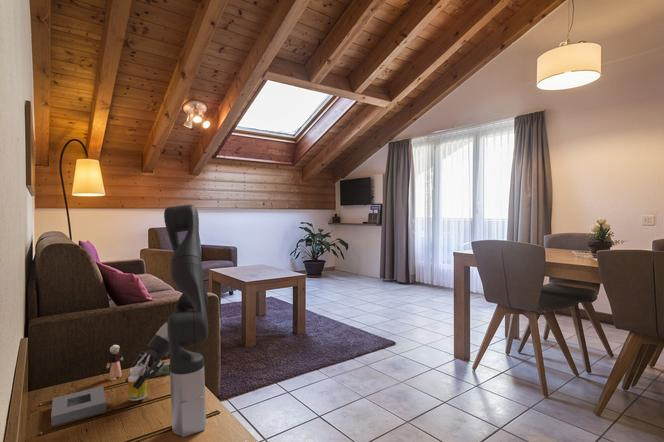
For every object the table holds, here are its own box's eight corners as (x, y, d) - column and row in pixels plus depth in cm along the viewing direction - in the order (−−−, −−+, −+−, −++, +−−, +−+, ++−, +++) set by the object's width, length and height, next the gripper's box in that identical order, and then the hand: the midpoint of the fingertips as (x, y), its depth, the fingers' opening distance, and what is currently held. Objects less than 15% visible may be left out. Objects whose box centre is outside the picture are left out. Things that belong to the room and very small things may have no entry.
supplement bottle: (139, 401, 123) (138, 372, 123) (125, 400, 124) (123, 371, 124) (150, 393, 129) (149, 365, 128) (136, 392, 130) (135, 364, 129)
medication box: (173, 372, 149) (172, 362, 149) (171, 375, 146) (170, 364, 146) (140, 374, 148) (140, 364, 147) (138, 377, 145) (137, 367, 145)
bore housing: (106, 411, 120) (106, 402, 120) (51, 426, 112) (51, 416, 112) (103, 394, 131) (103, 386, 131) (53, 407, 123) (52, 398, 123)
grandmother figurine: (115, 382, 141) (114, 348, 140) (105, 382, 141) (103, 348, 141) (126, 373, 148) (125, 341, 148) (117, 373, 149) (115, 341, 148)
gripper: (148, 329, 136) (113, 374, 128) (167, 337, 127) (131, 386, 118) (163, 340, 140) (131, 384, 132) (183, 348, 131) (149, 396, 122)
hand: (131, 385), depth 125 cm, fingers closed on supplement bottle, 5 cm apart
